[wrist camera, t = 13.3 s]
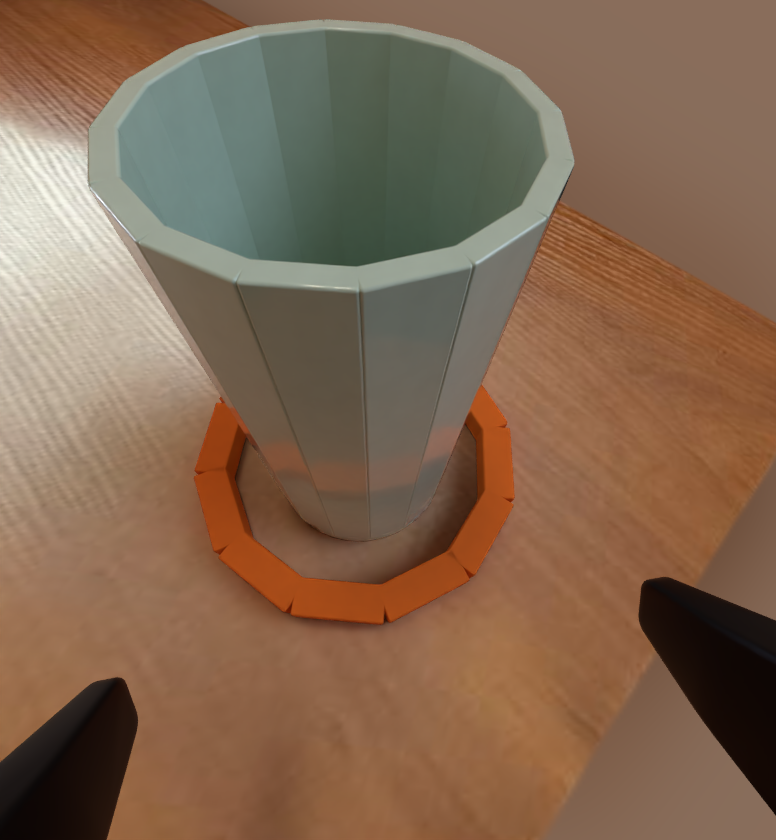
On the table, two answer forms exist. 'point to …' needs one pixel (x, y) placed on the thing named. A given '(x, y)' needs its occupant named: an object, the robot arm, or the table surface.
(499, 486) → the ring
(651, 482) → the table surface
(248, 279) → the cup
